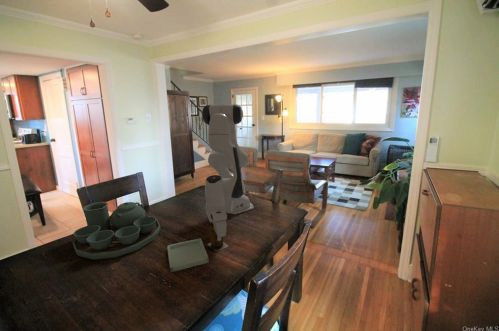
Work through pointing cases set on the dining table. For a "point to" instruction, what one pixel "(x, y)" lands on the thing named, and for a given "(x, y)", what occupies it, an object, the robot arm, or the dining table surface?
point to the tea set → (114, 231)
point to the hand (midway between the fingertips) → (217, 236)
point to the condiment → (215, 243)
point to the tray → (186, 254)
